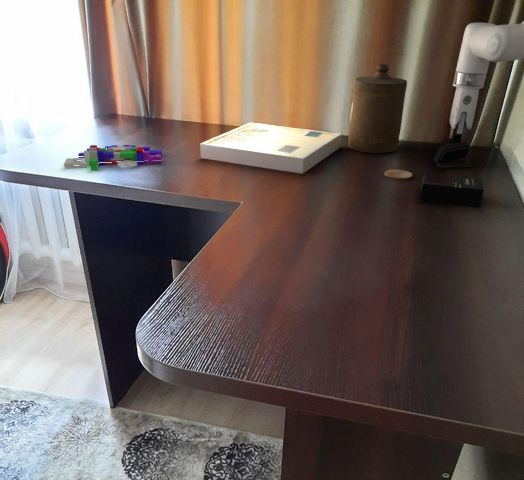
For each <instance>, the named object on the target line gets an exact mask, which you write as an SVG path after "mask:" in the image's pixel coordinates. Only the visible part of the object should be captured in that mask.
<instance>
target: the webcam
mask: <svg viewBox="0 0 524 480" xmlns="http://www.w3.org/2000/svg"><path fill="white" fill-rule="evenodd" d="M469 150H470V144H469V143H468V142H466V141H461V143H456V144H450V145H447V144H445V145H442V146H441V147H440V148H439V149H438V150H437V153H436V155H435V157H433V161H434V163H435V164H436V165H437V167H439V168H440V169H441V170H453V169H455V170H456V169H472V168H473V165H471V164H470V163H469V162H467V161H466V159H465V158H466V156H467V155H468V153H469Z"/></svg>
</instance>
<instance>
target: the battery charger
mask: <svg viewBox="0 0 524 480" xmlns="http://www.w3.org/2000/svg"><path fill="white" fill-rule="evenodd" d="M427 176H428V172H427V171H424V172H423V176H422V178H421V179H422V180H421V185H420V194H419V195H420V196H419V202H420V203H421V202H424V203H432V204H442V205H451V206H459V207H470V208H480V206H481V203H482V200H483V195H484V185H483V179H482V177H481V176H472V175H463V174H462V175H461V174H452V175H451V179H450V183H445V182H436V181H427V178H428V177H427Z"/></svg>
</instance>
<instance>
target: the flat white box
mask: <svg viewBox="0 0 524 480" xmlns="http://www.w3.org/2000/svg"><path fill="white" fill-rule="evenodd" d="M342 137H343V134H342V133H339V132H330V131H322V130H314V129H313V130H312V129H307V128H305V129H304V128H298V127H289V126H281V125H272V124H265V123H256V122H255V123H254V122H249V123H246V124H244V125H241V126H239V127H237V128H235V129H232V130H229V131H228V132H225V133H222V134H220V135H218V136H215V137H212V138H211V139H208V140H206V141H203V142H201V143H199V148H200V158H201V159H204V160H211V161H218V162H224V163H231V164H237V165H243V166H250V167H257V168H262V169H263V168H264V169H268V170H269V169H270V170H275V171H282V172H288V173H295V174H302V175H303V174H305V173H306V172H307V171H309V170H310V169H311V168H313V167H315V166H316V165H317V164H318V163H320V162H322V161H323V160H324V159H326V158H327V157H329V156H330V155H331V154H333V153H334V152H335V151H337V150H339V149H340V148H341V145H342Z"/></svg>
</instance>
